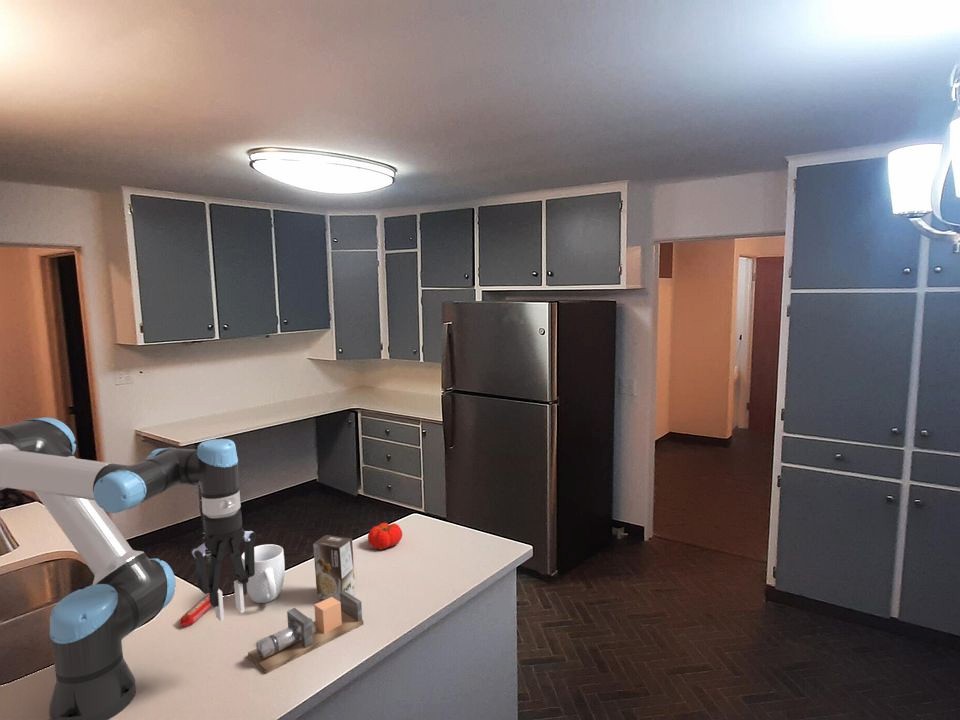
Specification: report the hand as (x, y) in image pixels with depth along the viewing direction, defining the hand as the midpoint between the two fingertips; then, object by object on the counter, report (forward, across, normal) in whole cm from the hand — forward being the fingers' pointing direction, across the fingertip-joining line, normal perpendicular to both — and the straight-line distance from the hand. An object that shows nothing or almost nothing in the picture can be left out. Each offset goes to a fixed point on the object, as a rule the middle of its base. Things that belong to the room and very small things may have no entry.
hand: (230, 614), depth 129 cm
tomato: (+15, +63, +29) cm, 71 cm away
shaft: (+14, +12, 0) cm, 18 cm away
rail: (+15, +18, 0) cm, 23 cm away
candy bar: (+15, +5, +33) cm, 36 cm away
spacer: (+14, +24, 0) cm, 27 cm away
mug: (+15, +20, +26) cm, 36 cm away
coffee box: (+15, +34, +13) cm, 39 cm away
